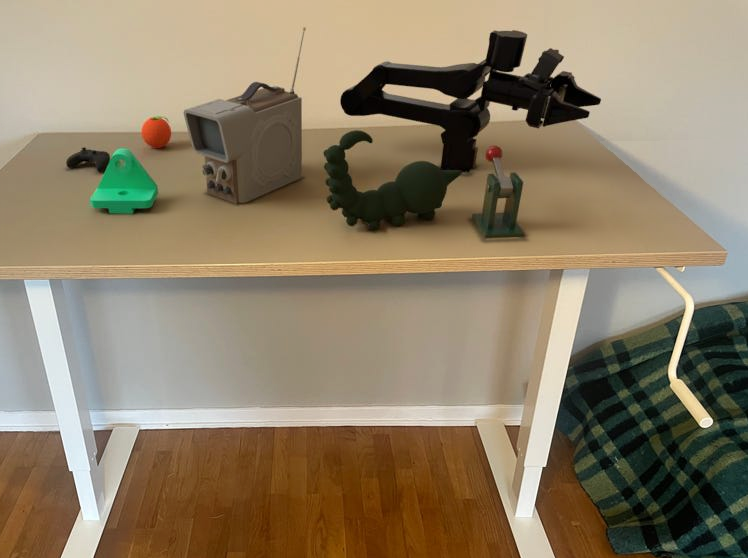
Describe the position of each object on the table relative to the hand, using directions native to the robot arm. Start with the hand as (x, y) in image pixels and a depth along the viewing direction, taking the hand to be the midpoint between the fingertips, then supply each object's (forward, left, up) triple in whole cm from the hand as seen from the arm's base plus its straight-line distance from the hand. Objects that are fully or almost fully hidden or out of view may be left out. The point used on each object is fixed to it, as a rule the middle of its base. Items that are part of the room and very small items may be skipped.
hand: (594, 108), depth 138 cm
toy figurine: (-29, -29, -16) cm, 44 cm away
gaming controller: (-100, -27, -16) cm, 105 cm away
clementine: (-93, -10, -16) cm, 95 cm away
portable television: (-61, -24, -16) cm, 68 cm away
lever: (-13, -20, -8) cm, 25 cm away
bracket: (-10, -24, -16) cm, 31 cm away
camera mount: (-80, -42, -16) cm, 92 cm away
